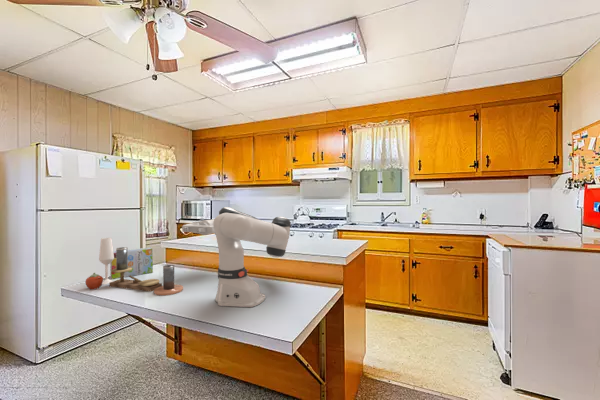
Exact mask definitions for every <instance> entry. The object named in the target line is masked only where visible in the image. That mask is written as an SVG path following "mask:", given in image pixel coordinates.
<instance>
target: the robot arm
mask: <svg viewBox="0 0 600 400" xmlns="http://www.w3.org/2000/svg"><path fill="white" fill-rule="evenodd" d="M291 226H292V223H291V221H290V219H288V218H287V217H286V216H285V217H284V216H276V217H274V218H273V219H272V221H271V222H269V221H265V220H262V219H258V218H257V217H255V216H253V215H250V214H247V213H245V212H242V211H239V210H236V209H235V208H232V207H229V206H224V207H222V208H221V209H220V210H219V211H218V215H217V216H216V217H215V218H213V219H204V220H199V221H192V223H187V224H183V225H182V227H181V230H182V232H184V233H192V234H193V233H194V234H199V235H203V236H208V235H212V234H214V235H215V237H216V243H217V248H218V268H217V279H218V283H217V285H218V286H217V291H216V296H215V299H214V300H215V302H216V303H217V306H220V307H221V306H222V307H238V308H239V307H241V308H243V307H244V308H252V307H255V306H256V307H257V306H258V305H260V304H262V303H263V302H264V301H265V300H266V295H265V294H263V293H261V289H260V285H259V284H258V282H256V281H255V280H254V279H252V277H250V276H249V275H248V272H249V270H250V268H248V269H246V267H245V265H244V263H245V260H244V259H245V257H244V256H245V255H244V254H245V253H244V248H243V246H242V242H243V241H244V242H250V243H256V244H258V245H264V246H266V253H267V255H269V256H270V257H272V258H281V257H283V256H285V254H286V251H287V250H286V249H287V247H288V246H287V245H288V243H289V239H290V233H291V232H290V231H291ZM241 241H242V242H241Z"/></svg>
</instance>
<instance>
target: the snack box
mask: <svg viewBox="0 0 600 400" xmlns="http://www.w3.org/2000/svg"><path fill="white" fill-rule="evenodd" d="M113 254H114V259H113V261H112V262H111V263H110V264H109V265H110V271H109V272H110V278H111V280H114V278H115V279H120V273H113V272H112V270H113V269H115V268H116V250H113ZM153 265H154V263H153V248H152V247H144V248H143V247H141V248H133V249H128V267H132V270H131V271H128V272H124V278H126V277H129V276H130V275H131V276H133V277H134V276H137V275H138V276H139V275H145V274H151V273H153V272H154V269H153V268H154V266H153Z"/></svg>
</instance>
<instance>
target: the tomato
mask: <svg viewBox="0 0 600 400" xmlns="http://www.w3.org/2000/svg"><path fill="white" fill-rule="evenodd" d="M103 281H104V277H103V276H102V275H99V274H97V273H96V272H93V273H92V274H91V275H89V276H88V277H87V278H86V279H85V281H84V282H85V285H86V287H87V288H88V289H89V290H98V289H100V287H101V286H102V285H103V284H102V283H103ZM97 288H98V289H97Z"/></svg>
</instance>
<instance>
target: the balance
mask: <svg viewBox="0 0 600 400" xmlns="http://www.w3.org/2000/svg"><path fill="white" fill-rule="evenodd" d="M131 270H132V267H128V269H126V270H116V268H115V269H113V270H112V272H113V273H120V278H118V279H117V280H112V281H113V282H110V283H109V284H108V285H109V287H110V286H111V287H112V288H120V289H126V288H127V289H128V290H134V291H143V292H154V290H155V289H156V288H158V287H160V286H163V282H160V280H159V279H158V278H150V279H145V280H140V279H139V278H137V277H134V276H131V275H130V276H128V278H129V279H127V278H125V277H124V272H128V271H131ZM127 289H126V290H127Z"/></svg>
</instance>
